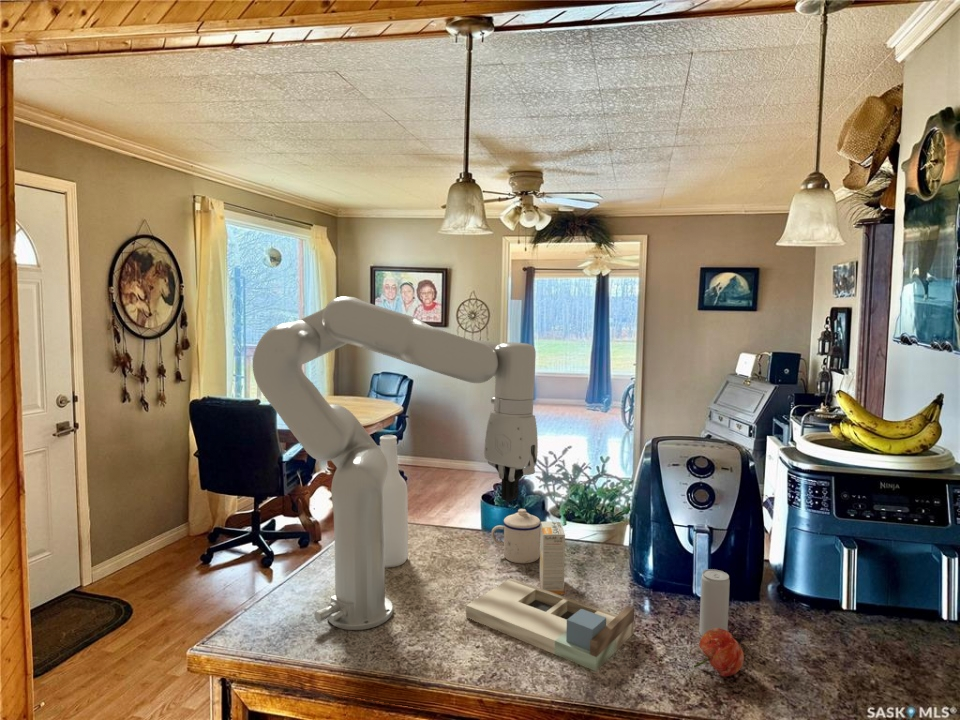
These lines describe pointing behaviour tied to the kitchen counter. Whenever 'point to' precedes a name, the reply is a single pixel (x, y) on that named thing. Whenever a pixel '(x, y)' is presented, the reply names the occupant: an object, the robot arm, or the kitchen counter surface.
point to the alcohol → (394, 507)
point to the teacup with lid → (520, 537)
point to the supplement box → (552, 557)
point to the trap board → (549, 621)
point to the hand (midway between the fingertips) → (509, 498)
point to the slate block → (584, 628)
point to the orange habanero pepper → (722, 651)
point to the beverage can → (714, 600)
